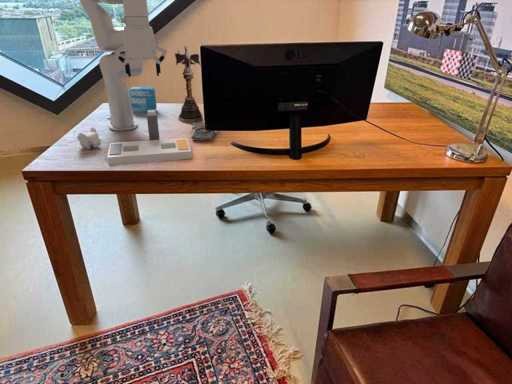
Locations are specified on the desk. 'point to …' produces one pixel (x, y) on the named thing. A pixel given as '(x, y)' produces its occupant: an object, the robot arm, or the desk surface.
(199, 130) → the graphics card
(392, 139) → the desk surface
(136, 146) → the socket block
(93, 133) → the elephant figurine
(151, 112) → the grey long rectangular block
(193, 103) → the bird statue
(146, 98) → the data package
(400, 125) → the desk surface
